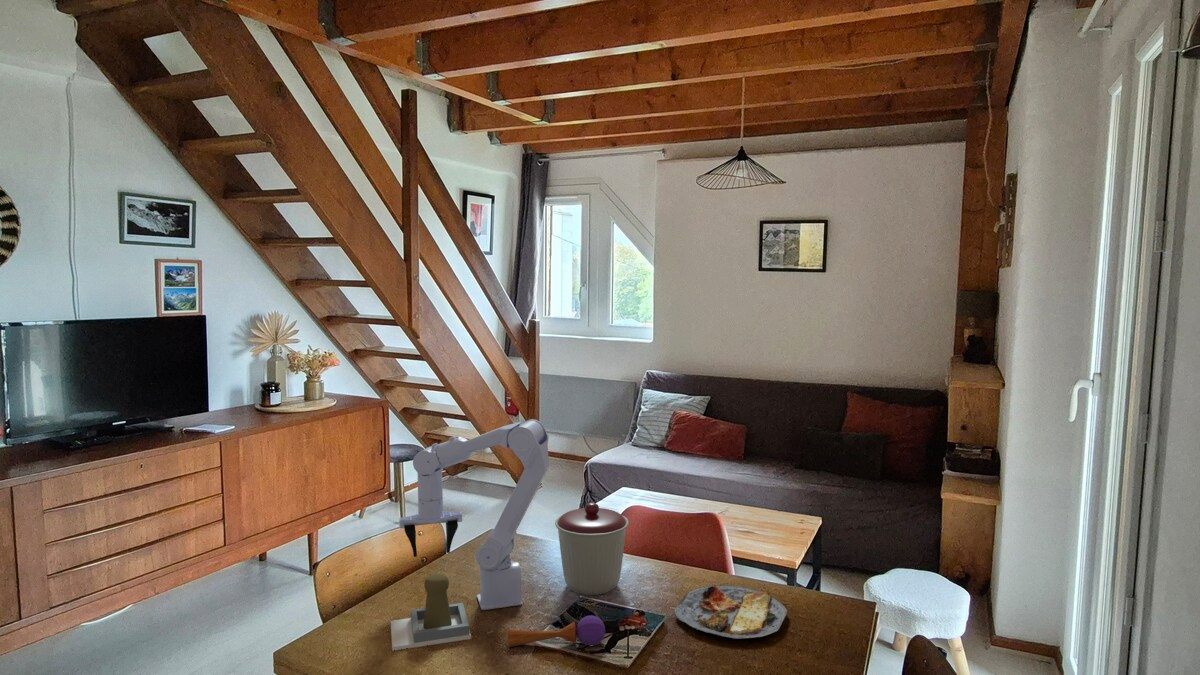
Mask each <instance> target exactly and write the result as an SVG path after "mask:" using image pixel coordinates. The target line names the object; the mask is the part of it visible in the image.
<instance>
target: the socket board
mask: <svg viewBox="0 0 1200 675" xmlns="http://www.w3.org/2000/svg"><path fill="white" fill-rule="evenodd" d="M464 606H465V605H464V603H463V602H457V603H449V609H450V615H451V622H452V624H451V626H445V627H438V628H431V629H424V627H423V625H424V616H425V607H421V608H420V607H419V608H414V609H410V617H408V618H401V619H394V620H390V633H391V634H390V635H391V636H390V637H391V650H392V652H394V650H395V651H400V650H401V649H402V650H407V649H406V648H408V649H413V648H414V649H415V648H421V647H427V645H428V646H432V645H433V646H434V645H438V644H439V645H441V644H446V643H453V642H459V641H466V640H471V639H472V633H471V630H470V623H469V620H468V616H467V613H466V610H465V607H464ZM402 650H401V651H402Z"/></svg>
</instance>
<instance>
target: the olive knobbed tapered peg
mask: <svg viewBox="0 0 1200 675" xmlns="http://www.w3.org/2000/svg"><path fill="white" fill-rule="evenodd" d="M449 584H450V580H449V578H448V576H447V575H445V574H444V573H433V574H430V575H428V576H426V578H425V579H424V584H423V585H424V590H425V591H426V600H425V607H424V608H425V616H424V625H423V627H424V629H431V628H438V627H445V626H451V624H452V622H451V615H450V609H449V604H450V603H449V598H448V591H447V590H448V588H449Z"/></svg>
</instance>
